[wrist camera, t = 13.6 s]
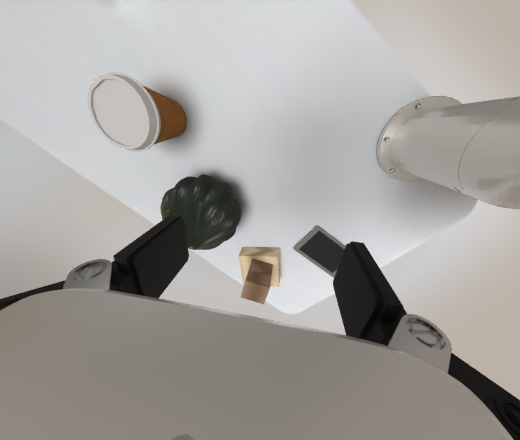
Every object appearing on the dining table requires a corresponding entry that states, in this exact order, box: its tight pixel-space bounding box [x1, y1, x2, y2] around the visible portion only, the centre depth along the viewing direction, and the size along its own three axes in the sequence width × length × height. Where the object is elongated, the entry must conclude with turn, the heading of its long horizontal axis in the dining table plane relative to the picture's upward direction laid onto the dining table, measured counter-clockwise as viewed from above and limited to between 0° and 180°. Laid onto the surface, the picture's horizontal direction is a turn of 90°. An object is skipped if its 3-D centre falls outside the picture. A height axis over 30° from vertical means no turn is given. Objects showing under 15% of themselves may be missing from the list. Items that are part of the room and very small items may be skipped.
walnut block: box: [241, 258, 273, 304], centre depth 41 cm, size 5×5×7 cm
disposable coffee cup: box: [88, 72, 186, 152], centre depth 30 cm, size 10×10×12 cm
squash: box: [161, 175, 241, 250], centre depth 36 cm, size 14×15×15 cm
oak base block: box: [239, 247, 280, 287], centre depth 46 cm, size 9×9×4 cm
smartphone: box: [294, 226, 346, 277], centre depth 43 cm, size 15×8×1 cm, turn 54°
